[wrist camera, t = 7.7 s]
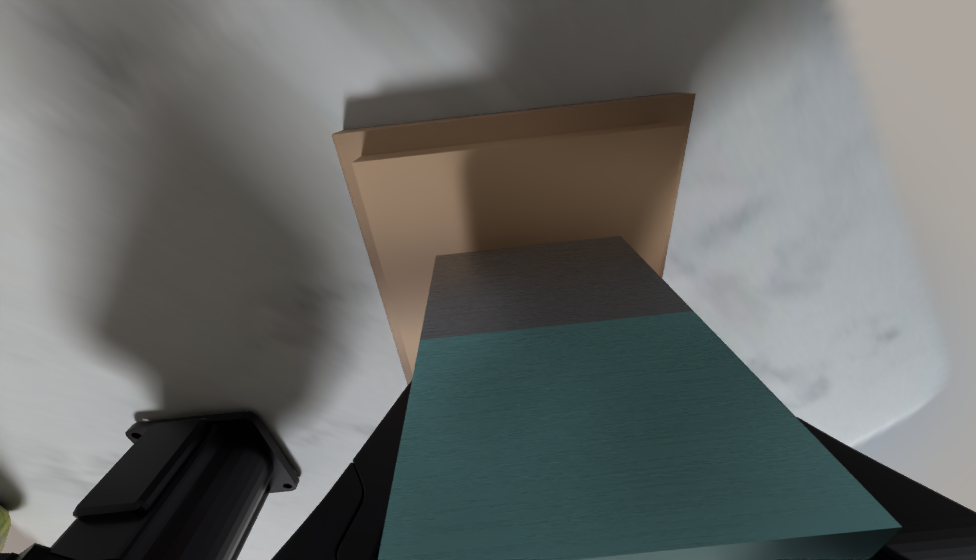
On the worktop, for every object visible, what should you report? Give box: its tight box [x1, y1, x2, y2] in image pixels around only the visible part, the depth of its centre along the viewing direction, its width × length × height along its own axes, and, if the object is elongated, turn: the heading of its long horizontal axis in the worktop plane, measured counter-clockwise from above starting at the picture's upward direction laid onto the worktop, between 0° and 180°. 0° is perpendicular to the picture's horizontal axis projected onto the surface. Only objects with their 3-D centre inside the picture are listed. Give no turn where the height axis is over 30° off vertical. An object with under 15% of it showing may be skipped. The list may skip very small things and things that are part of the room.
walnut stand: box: [332, 93, 695, 384], centre depth 13 cm, size 11×11×2 cm
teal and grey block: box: [378, 236, 902, 560], centre depth 8 cm, size 5×5×7 cm
